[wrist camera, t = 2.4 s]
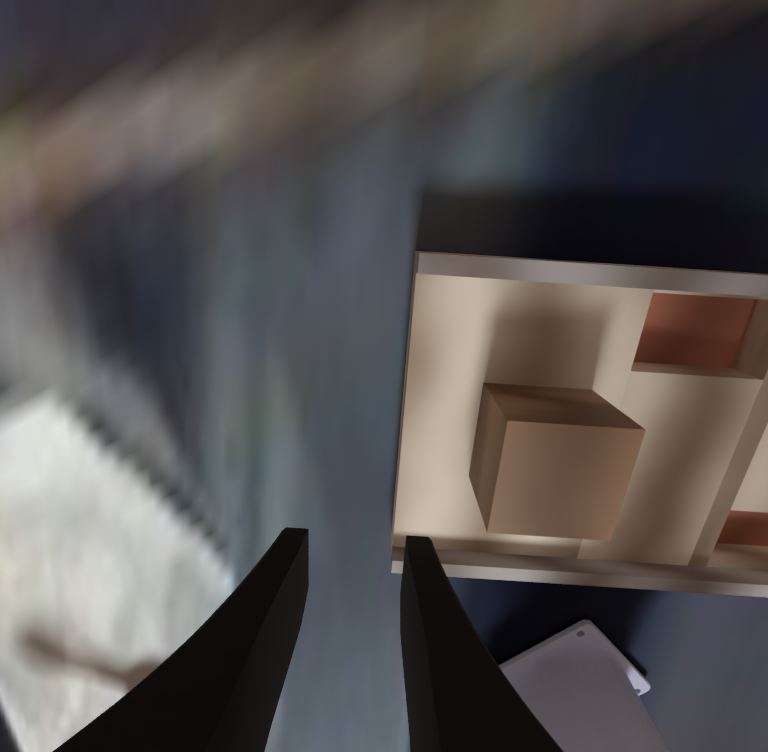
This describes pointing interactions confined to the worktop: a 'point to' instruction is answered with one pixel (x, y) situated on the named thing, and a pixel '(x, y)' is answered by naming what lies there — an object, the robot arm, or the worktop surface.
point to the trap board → (616, 385)
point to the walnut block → (551, 461)
